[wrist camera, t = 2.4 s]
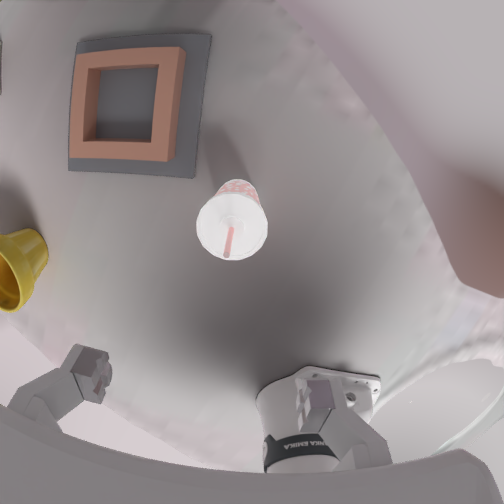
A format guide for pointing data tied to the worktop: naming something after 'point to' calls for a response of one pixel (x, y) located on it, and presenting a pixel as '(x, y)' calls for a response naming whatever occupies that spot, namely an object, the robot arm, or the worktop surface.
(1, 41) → the coffee box
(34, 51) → the worktop surface
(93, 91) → the cup holder
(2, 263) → the plant pot
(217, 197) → the beverage cup
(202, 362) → the worktop surface
